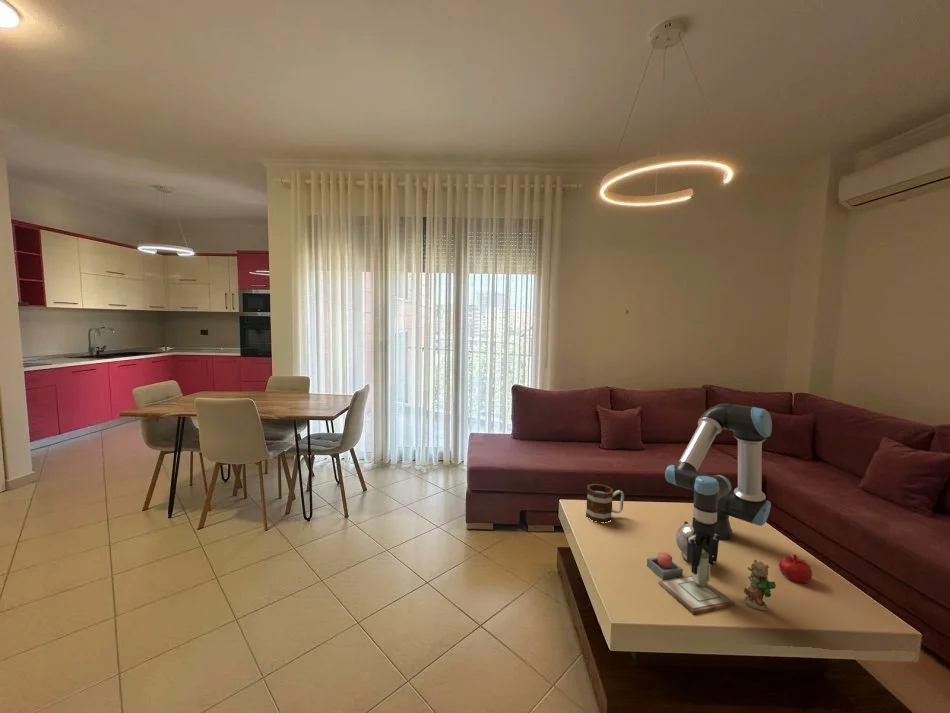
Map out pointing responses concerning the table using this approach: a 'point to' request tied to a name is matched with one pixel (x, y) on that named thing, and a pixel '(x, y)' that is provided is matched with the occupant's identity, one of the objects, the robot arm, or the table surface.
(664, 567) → the button
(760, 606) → the figurine
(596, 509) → the mug
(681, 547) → the teapot
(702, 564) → the cylinder
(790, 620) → the table surface
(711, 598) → the picture board
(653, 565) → the button housing
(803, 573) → the pomegranate
